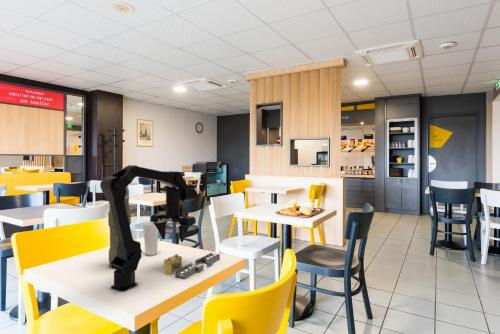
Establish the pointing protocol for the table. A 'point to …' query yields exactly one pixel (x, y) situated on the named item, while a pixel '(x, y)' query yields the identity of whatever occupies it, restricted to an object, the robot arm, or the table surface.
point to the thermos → (113, 230)
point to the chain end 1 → (188, 271)
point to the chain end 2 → (208, 259)
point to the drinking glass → (150, 238)
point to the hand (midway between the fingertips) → (172, 240)
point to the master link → (172, 264)
